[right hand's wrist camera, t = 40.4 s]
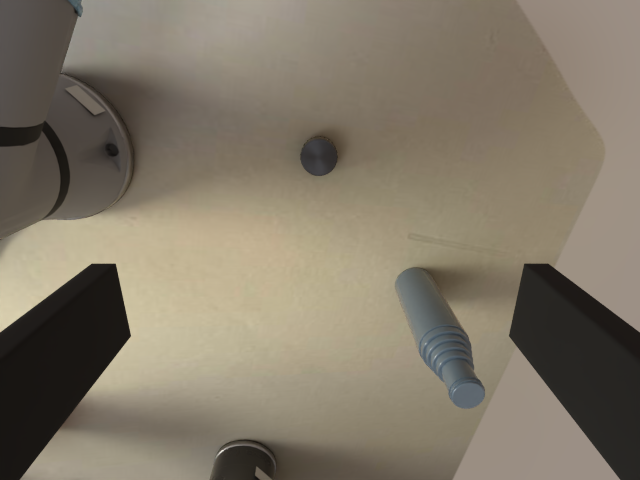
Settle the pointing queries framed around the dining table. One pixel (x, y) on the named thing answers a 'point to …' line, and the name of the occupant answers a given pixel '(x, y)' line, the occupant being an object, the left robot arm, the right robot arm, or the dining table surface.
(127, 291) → the dining table surface
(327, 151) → the cap
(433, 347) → the bottle
